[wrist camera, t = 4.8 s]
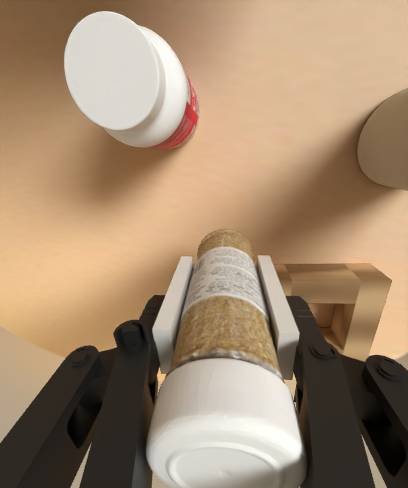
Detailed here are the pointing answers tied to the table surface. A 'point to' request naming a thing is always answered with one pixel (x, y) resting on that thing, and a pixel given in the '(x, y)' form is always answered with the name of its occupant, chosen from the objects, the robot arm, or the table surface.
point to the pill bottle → (130, 82)
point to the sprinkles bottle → (225, 384)
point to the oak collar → (341, 300)
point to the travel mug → (386, 143)
